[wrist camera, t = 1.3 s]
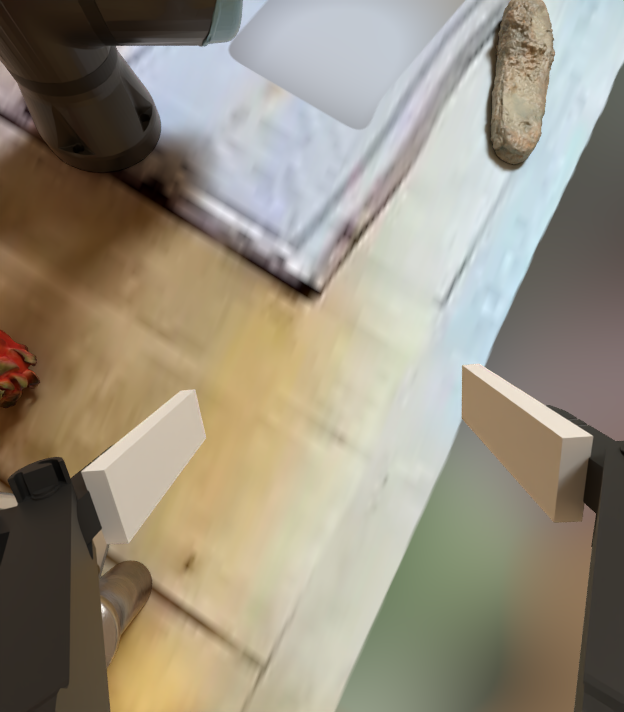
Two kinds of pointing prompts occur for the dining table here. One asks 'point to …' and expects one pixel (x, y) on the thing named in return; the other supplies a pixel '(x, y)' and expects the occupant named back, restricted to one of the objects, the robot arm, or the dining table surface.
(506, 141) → the elongated rock
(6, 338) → the dragon fruit
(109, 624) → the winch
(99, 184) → the dining table surface
